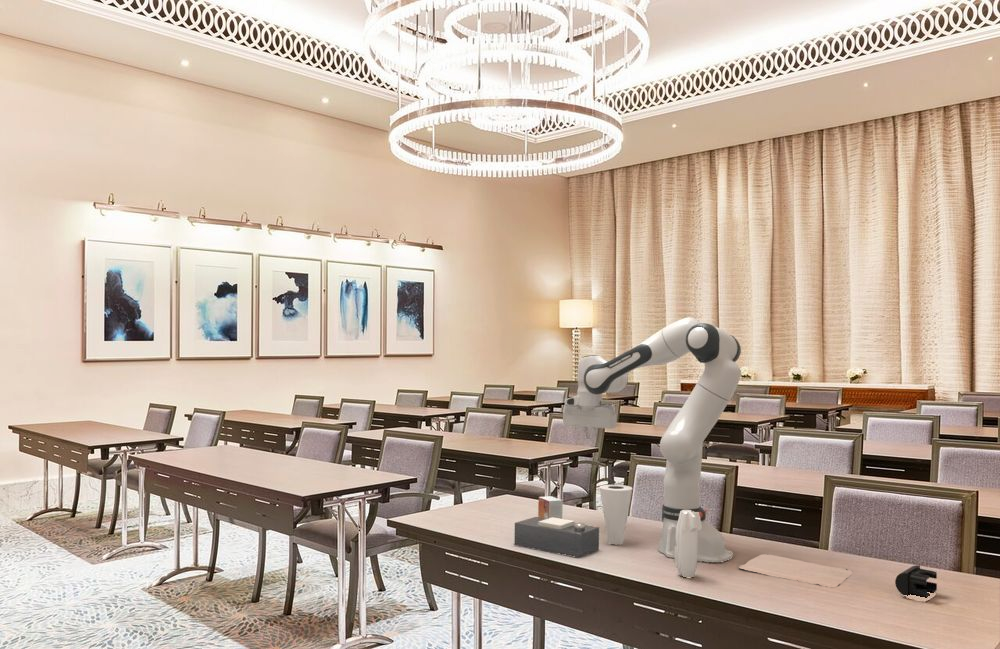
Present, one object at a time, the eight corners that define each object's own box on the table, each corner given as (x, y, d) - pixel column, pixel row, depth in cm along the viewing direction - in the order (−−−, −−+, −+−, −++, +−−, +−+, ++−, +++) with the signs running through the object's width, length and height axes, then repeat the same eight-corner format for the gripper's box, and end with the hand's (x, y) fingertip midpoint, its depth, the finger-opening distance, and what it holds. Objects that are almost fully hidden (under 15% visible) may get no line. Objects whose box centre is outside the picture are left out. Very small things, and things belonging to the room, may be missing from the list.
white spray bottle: (705, 579, 204) (689, 571, 211) (705, 512, 205) (689, 507, 212) (685, 581, 202) (669, 573, 209) (685, 514, 203) (669, 508, 209)
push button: (574, 543, 237) (574, 520, 237) (560, 548, 230) (560, 525, 230) (552, 539, 242) (552, 517, 242) (537, 544, 235) (538, 521, 235)
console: (598, 549, 233) (599, 522, 234) (579, 557, 224) (579, 529, 224) (535, 537, 248) (535, 511, 248) (514, 544, 238) (514, 517, 239)
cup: (622, 549, 235) (622, 491, 236) (593, 543, 241) (593, 487, 242) (637, 542, 243) (638, 487, 244) (609, 537, 250) (609, 483, 250)
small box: (537, 526, 265) (538, 496, 265) (551, 525, 267) (551, 495, 268) (548, 531, 257) (548, 500, 258) (562, 530, 260) (562, 499, 260)
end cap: (907, 588, 198) (907, 563, 199) (937, 595, 193) (937, 568, 193) (894, 596, 191) (894, 570, 191) (925, 603, 186) (925, 576, 186)
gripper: (620, 401, 260) (619, 441, 260) (570, 399, 273) (569, 437, 272) (611, 402, 255) (611, 443, 255) (560, 399, 267) (560, 438, 267)
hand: (589, 440), depth 263 cm, fingers closed
